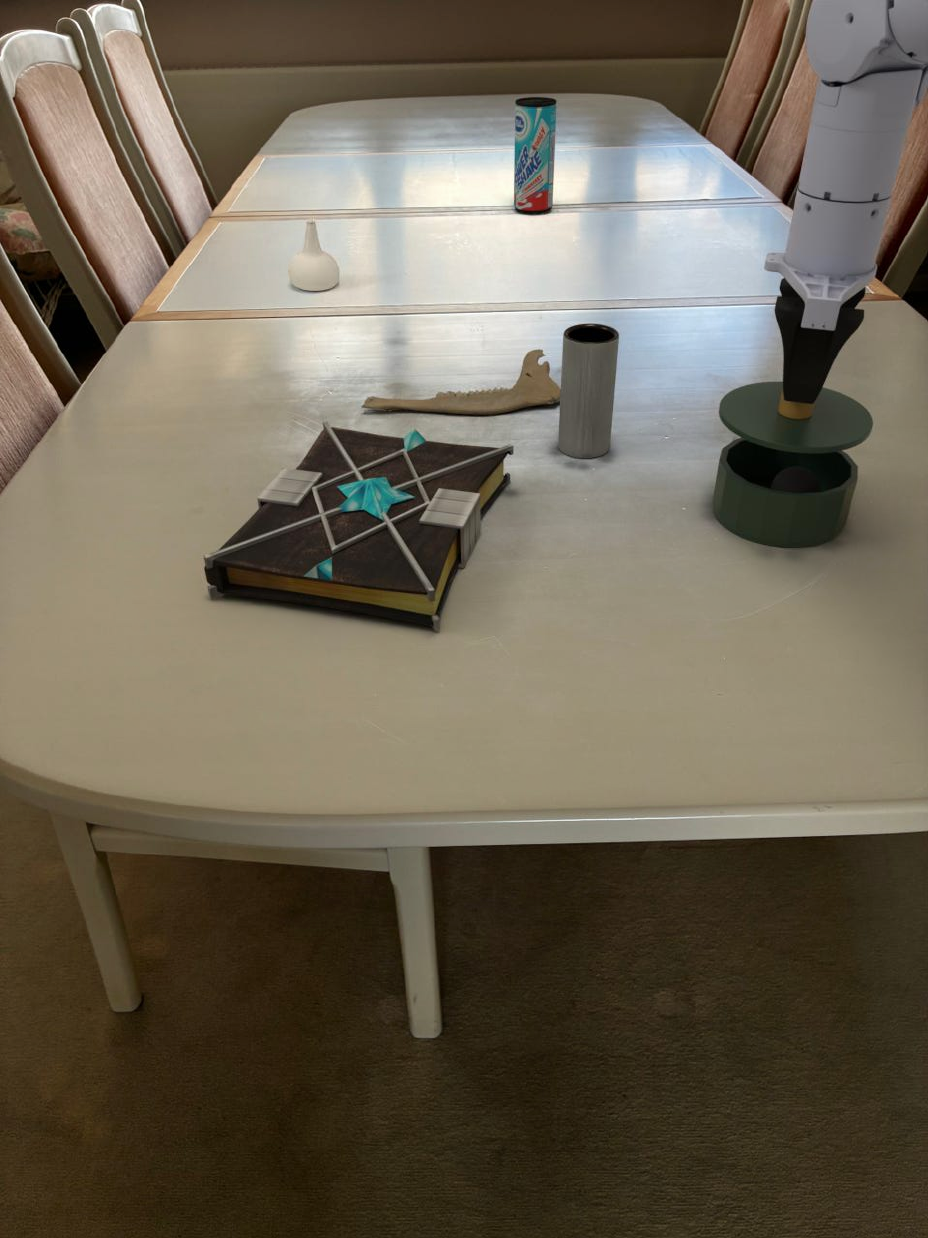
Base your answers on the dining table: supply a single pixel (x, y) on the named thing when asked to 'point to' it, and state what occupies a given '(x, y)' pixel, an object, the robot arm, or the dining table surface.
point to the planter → (587, 389)
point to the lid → (795, 419)
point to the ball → (796, 481)
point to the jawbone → (486, 394)
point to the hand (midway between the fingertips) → (800, 391)
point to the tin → (782, 495)
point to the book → (364, 525)
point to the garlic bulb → (313, 264)
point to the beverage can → (534, 154)
